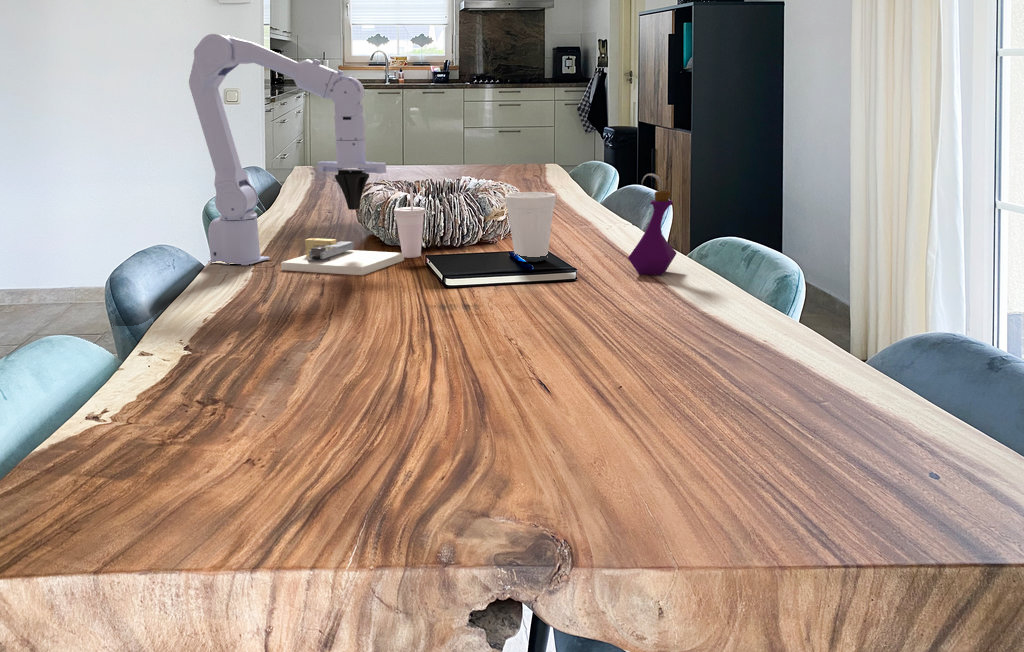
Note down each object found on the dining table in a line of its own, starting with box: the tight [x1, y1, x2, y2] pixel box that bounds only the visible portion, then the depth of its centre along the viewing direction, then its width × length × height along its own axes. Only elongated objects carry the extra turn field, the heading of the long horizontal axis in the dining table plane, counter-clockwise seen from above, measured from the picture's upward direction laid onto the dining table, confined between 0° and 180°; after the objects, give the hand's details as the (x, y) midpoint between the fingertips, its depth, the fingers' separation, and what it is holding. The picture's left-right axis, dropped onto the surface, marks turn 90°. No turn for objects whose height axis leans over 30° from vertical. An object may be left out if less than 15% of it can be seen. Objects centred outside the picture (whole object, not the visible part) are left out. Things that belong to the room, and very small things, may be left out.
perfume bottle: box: [627, 173, 677, 276], centre depth 182 cm, size 8×8×18 cm
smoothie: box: [393, 186, 426, 259], centre depth 205 cm, size 6×6×14 cm
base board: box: [280, 249, 405, 276], centre depth 198 cm, size 18×16×2 cm
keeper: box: [304, 237, 338, 256], centre depth 199 cm, size 6×2×3 cm, turn 67°
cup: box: [504, 191, 557, 257], centre depth 196 cm, size 10×10×13 cm
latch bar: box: [309, 240, 354, 259], centre depth 199 cm, size 12×3×2 cm, turn 160°
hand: (353, 209), depth 201 cm, fingers closed
